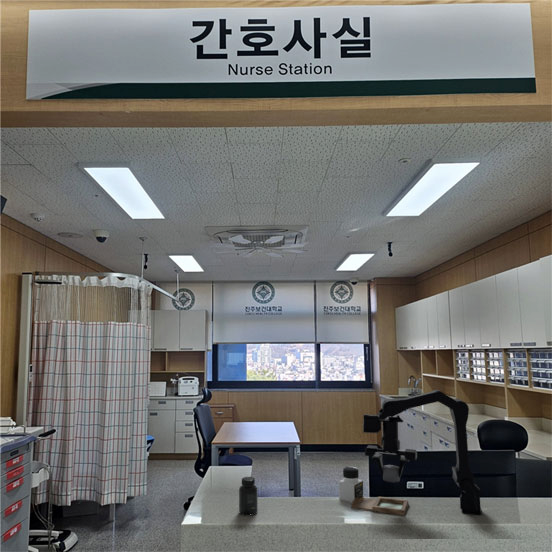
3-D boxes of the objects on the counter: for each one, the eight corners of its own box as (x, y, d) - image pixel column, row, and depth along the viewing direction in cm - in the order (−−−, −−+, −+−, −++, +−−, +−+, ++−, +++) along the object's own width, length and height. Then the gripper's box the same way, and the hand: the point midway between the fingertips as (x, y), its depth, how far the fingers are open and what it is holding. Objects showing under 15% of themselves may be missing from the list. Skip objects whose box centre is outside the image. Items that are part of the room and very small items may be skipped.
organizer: (408, 504, 185) (408, 500, 185) (404, 515, 174) (404, 510, 174) (358, 498, 192) (357, 494, 192) (351, 508, 181) (351, 503, 182)
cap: (400, 478, 184) (400, 465, 184) (398, 483, 178) (398, 469, 179) (384, 476, 186) (384, 463, 186) (381, 481, 180) (381, 467, 181)
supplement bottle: (260, 509, 181) (259, 476, 182) (254, 516, 174) (254, 482, 176) (242, 508, 183) (242, 475, 184) (236, 515, 176) (236, 480, 177)
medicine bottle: (354, 503, 187) (354, 471, 189) (338, 499, 192) (338, 468, 193) (363, 498, 193) (362, 467, 194) (347, 494, 197) (347, 464, 199)
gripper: (418, 431, 188) (419, 473, 186) (370, 427, 195) (370, 467, 193) (414, 437, 178) (416, 481, 176) (364, 433, 185) (364, 475, 183)
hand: (391, 476), depth 182 cm, fingers closed on cap, 6 cm apart
